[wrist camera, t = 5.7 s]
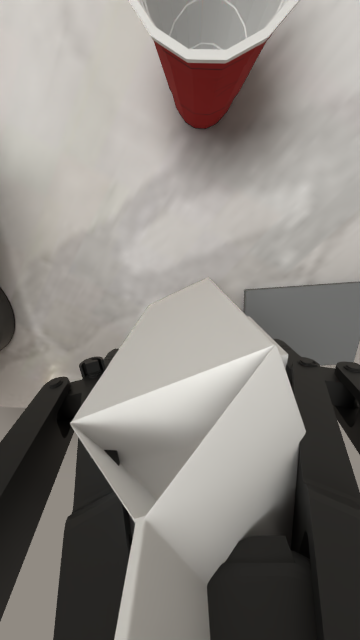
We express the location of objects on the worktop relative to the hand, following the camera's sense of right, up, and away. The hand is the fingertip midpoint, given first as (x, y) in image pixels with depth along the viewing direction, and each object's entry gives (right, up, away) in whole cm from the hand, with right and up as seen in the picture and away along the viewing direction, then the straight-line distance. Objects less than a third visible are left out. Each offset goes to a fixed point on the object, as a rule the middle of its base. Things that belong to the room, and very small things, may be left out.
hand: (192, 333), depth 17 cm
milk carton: (0, +1, +4) cm, 4 cm away
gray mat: (+16, 0, +9) cm, 19 cm away
